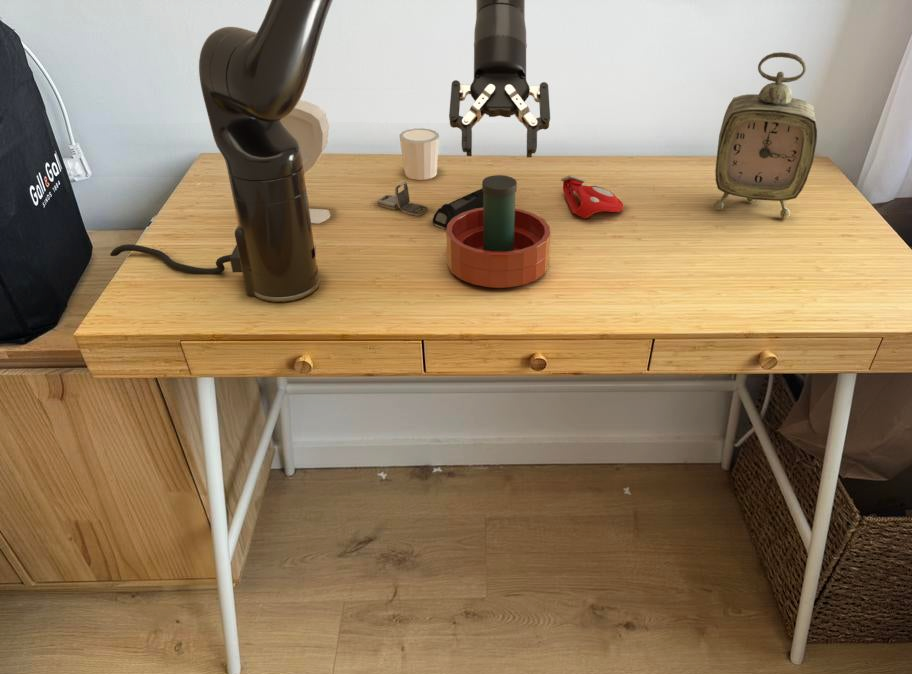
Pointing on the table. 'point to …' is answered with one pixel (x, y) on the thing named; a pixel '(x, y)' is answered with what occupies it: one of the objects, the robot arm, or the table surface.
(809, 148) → the tabletop clock
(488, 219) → the tube
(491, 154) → the table surface
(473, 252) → the bowl
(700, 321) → the table surface
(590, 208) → the tracker holder
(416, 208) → the strap clip
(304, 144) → the heart sculpture
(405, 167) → the shot glass
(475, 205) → the electric trimmer
